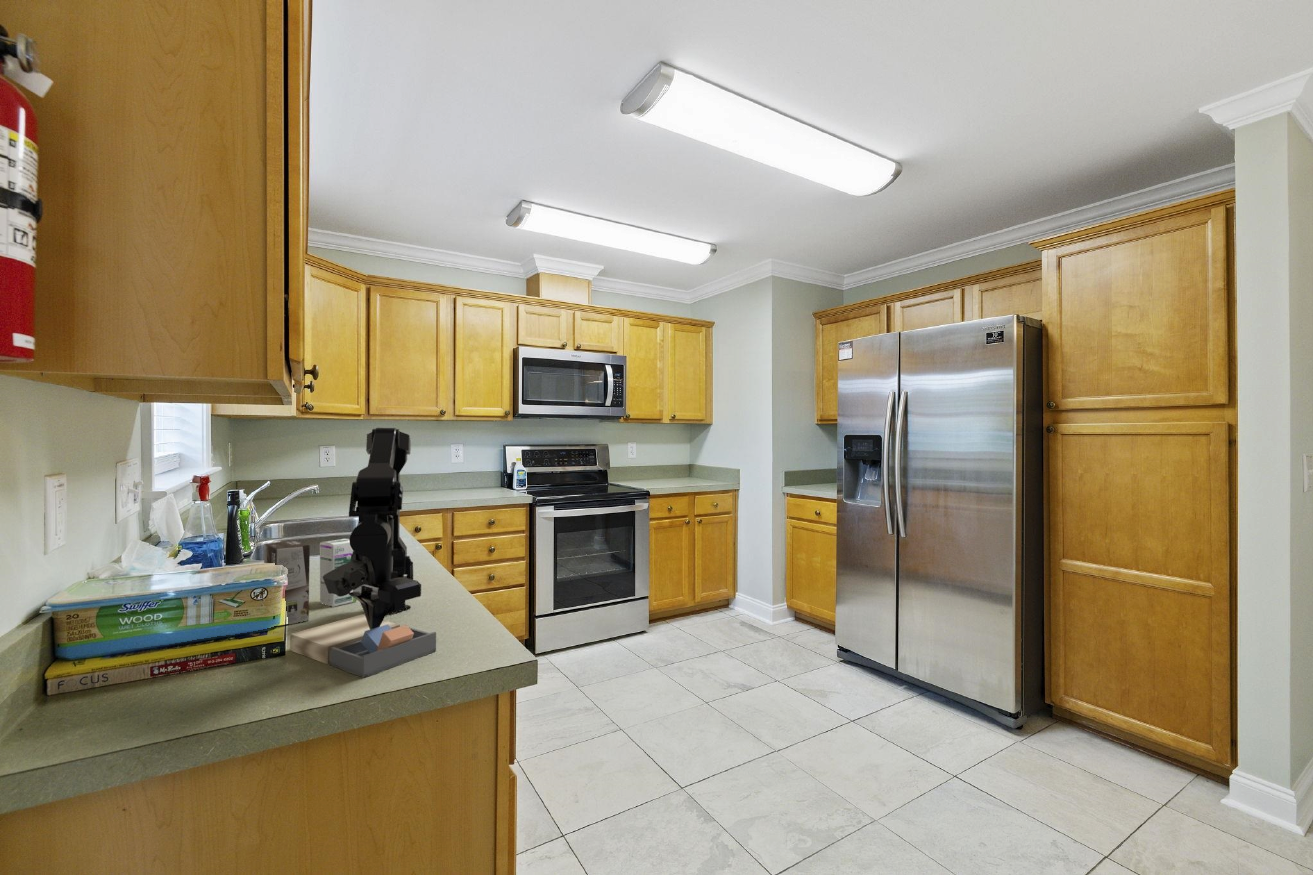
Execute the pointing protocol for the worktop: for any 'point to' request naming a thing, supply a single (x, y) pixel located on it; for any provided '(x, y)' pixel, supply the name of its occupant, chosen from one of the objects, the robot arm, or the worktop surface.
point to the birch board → (330, 637)
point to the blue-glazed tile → (373, 637)
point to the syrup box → (330, 559)
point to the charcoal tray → (381, 654)
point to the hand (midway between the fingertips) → (374, 631)
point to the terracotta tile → (395, 637)
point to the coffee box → (293, 575)
